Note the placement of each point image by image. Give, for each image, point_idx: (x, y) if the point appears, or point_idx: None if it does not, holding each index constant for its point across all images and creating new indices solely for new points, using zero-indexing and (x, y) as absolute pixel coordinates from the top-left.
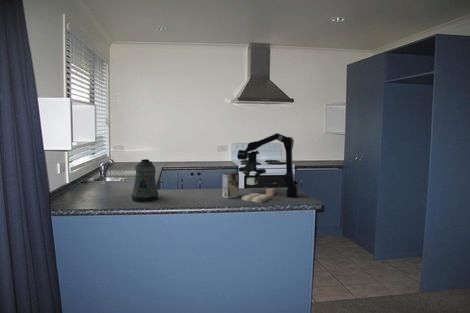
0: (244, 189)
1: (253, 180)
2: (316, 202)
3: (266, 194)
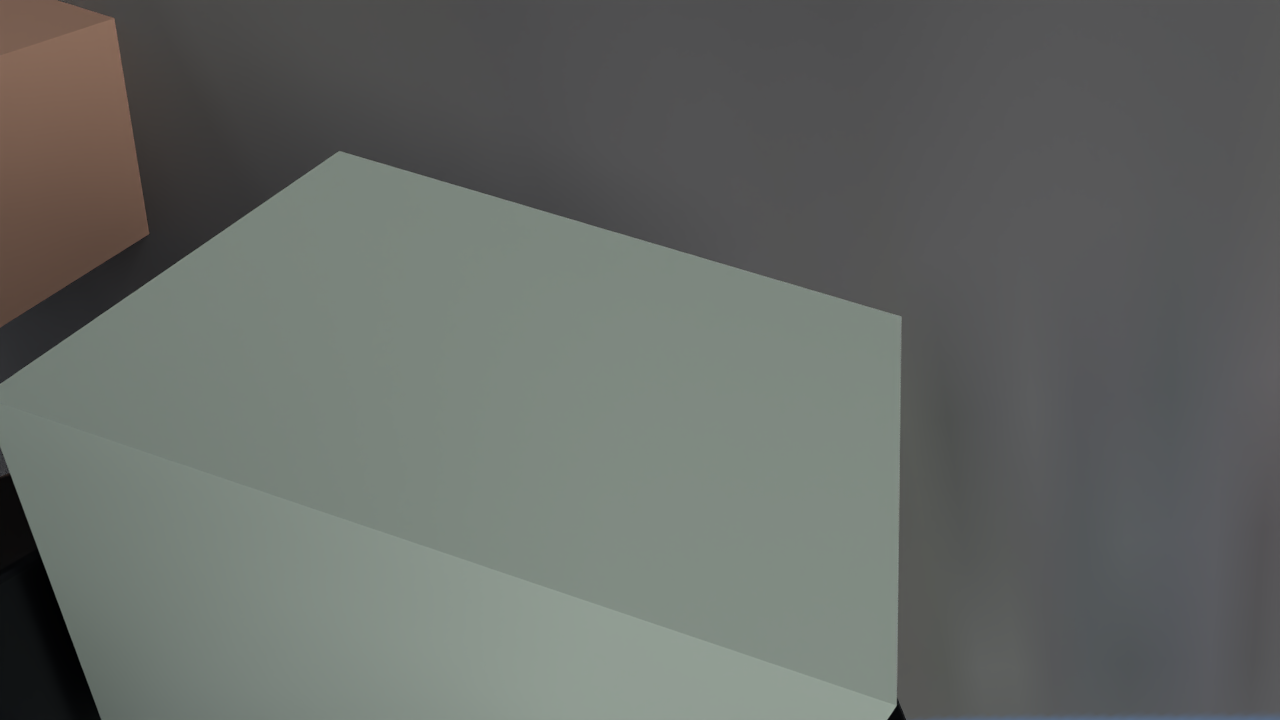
0: (1050, 653)
1: (128, 330)
2: None
3: (71, 13)
